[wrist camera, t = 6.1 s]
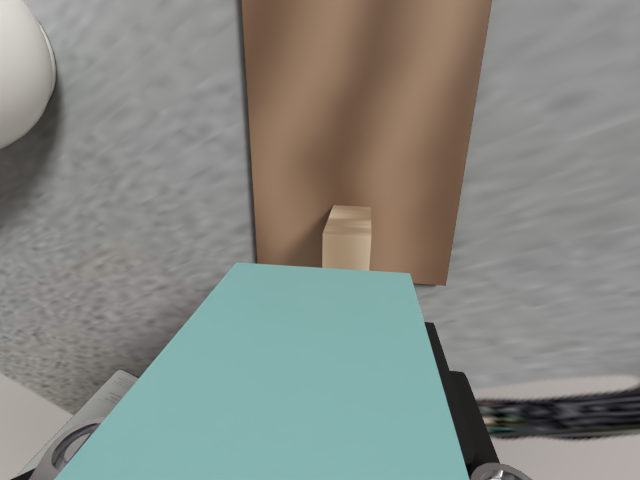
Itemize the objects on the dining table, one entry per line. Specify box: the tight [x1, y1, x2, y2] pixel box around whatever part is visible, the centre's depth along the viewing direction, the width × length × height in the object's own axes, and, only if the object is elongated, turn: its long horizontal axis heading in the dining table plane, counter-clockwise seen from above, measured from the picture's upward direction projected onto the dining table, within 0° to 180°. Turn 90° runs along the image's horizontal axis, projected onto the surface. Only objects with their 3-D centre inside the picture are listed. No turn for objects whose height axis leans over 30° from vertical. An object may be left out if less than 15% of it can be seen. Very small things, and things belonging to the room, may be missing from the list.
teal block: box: [54, 263, 469, 480], centre depth 8 cm, size 5×5×7 cm
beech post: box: [322, 205, 371, 271], centre depth 20 cm, size 2×2×5 cm
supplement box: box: [14, 370, 139, 478], centre depth 27 cm, size 7×7×13 cm
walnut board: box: [242, 0, 492, 286], centre depth 20 cm, size 13×19×1 cm
